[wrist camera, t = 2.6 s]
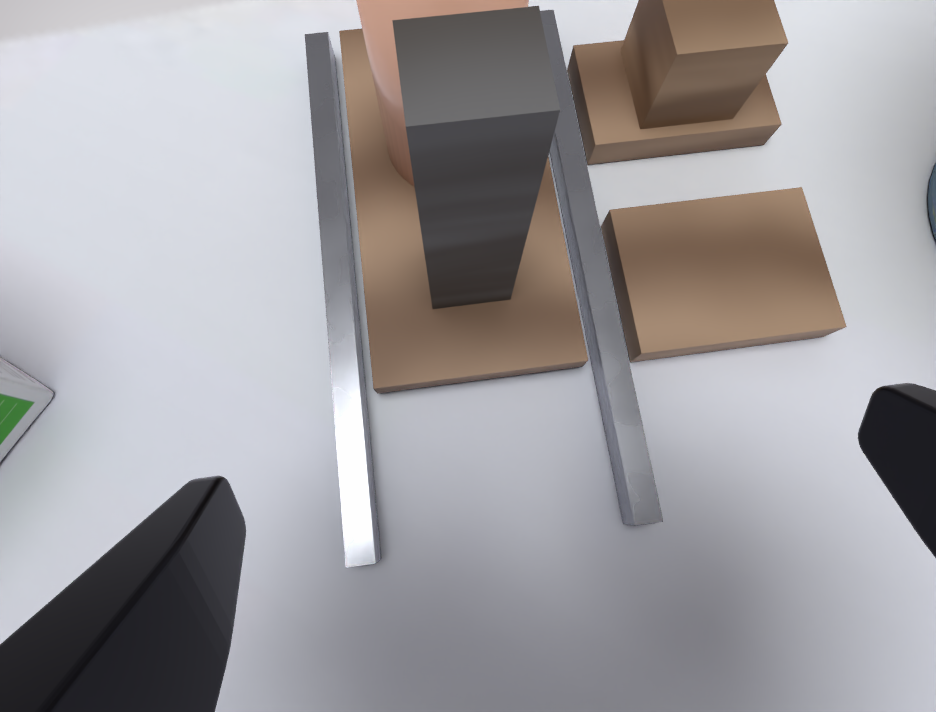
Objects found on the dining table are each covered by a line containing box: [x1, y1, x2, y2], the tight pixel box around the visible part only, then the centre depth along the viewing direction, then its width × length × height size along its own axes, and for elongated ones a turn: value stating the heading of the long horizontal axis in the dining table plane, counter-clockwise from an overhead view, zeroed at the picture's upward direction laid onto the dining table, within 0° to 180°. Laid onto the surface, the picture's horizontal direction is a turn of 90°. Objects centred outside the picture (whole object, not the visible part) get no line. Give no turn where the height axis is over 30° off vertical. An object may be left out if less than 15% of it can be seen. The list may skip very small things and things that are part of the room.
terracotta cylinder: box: [356, 0, 529, 186], centre depth 18 cm, size 5×5×9 cm
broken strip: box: [567, 40, 846, 362], centre depth 23 cm, size 14×8×1 cm, turn 8°
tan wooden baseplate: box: [339, 6, 588, 393], centre depth 17 cm, size 16×8×12 cm, turn 8°
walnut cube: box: [621, 0, 788, 129], centre depth 21 cm, size 4×4×4 cm
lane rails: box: [305, 10, 663, 568], centre depth 22 cm, size 22×11×1 cm, turn 8°
